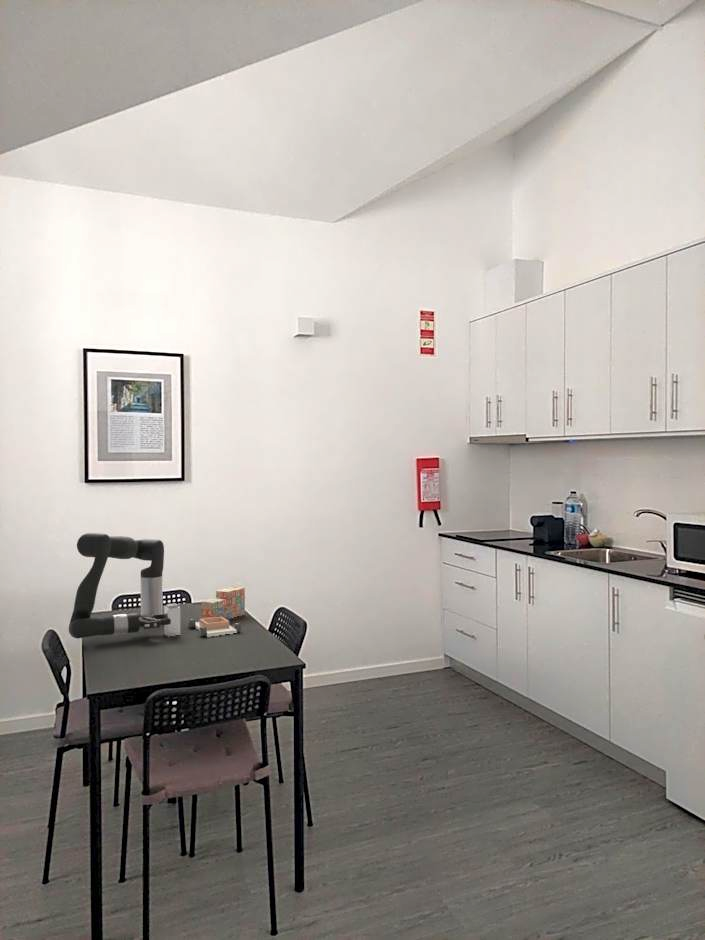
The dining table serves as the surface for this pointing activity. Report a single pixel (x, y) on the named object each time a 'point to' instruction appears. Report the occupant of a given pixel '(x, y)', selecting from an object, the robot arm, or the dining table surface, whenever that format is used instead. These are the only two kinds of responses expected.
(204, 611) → the stack of blocks
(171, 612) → the grey tall block
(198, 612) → the dining table surface
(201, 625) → the chassis
